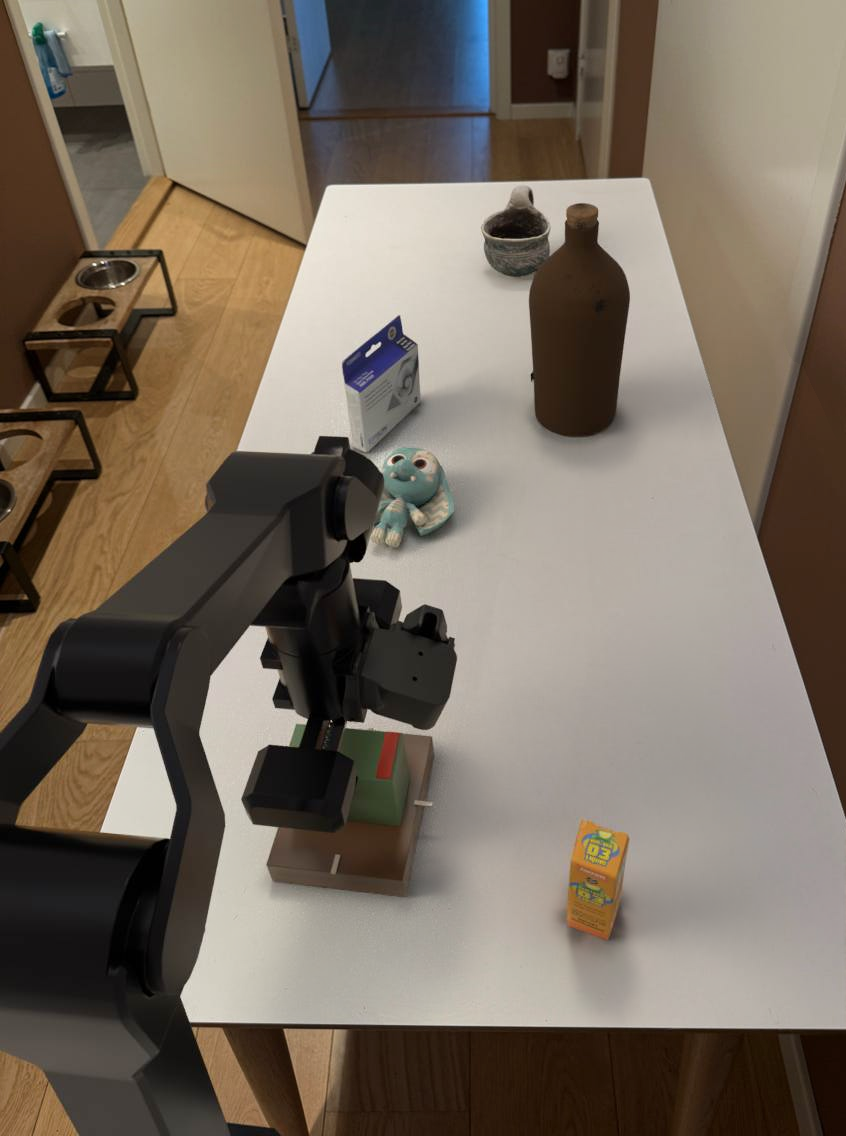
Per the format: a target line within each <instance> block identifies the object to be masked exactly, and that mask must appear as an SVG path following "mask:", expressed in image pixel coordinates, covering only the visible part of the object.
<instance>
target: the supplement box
mask: <svg viewBox="0 0 846 1136" xmlns="http://www.w3.org/2000/svg"><path fill="white" fill-rule="evenodd" d="M575 837H576V838H575V842H574V845H573V849H572V854H571V858H570V862H569V863H570V864H569V876H568V891H567V905H566V925H567V926H568V927H570V928H573V929H576V930H579V931H581V932H583V933H587V934H589V935H592V936H595V937H598V938H601V939H602V940H606V941H609V938H610V936H611V934H612V930H613V927H614V924H615V921H616V918H617V915H618V911H619V908H620V905H621V900H622V893H623V884H624V876H625V870H626V862H627V855H628V849H629V844H630V836H629V834H628V833H626V832H623V831H616V830H615V831H614V830H612V829H610V828H609V829H608V828H606V827H603V826H600V825H598V824H595V823H594V822H593V821H590V820H588V819H584V818H582V819H580V822H579V827H578V830H577V834H576V836H575Z"/></svg>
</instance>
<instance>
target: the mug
mask: <svg viewBox="0 0 846 1136" xmlns="http://www.w3.org/2000/svg"><path fill="white" fill-rule="evenodd" d="M534 204H535V197H534V192H533V189H532V188H531V187H530V186H527V185H517V186H515V187H514V188H513V189H512V191H511V193H510V196H509V199H508V202H507V204H506V205H505V208H504V209H502V210H499V211H496V212H494V213H492V214H490V215H489V216H488V217H486V218H485V219H484V220H483V222H482V224H481V226H480V230H481V234H482V236H483V239H484V242H483V253H484V255H485V259H486V260H487V261H486V262H488V264H489V265H490V267H491V268H492V269H494V270H495V271H497V272H498V273H500V274H502V275H504V276H509V277H513V278H514V277H516V278H521V277H525V276H529V275H531V274H535V273H536V271H537V270H538V268H539V267H540V266H541V264H542V263H543V262H544V261H545V260H546V259H547V258H549V257H550V254H551V249H550V248H551V246H550V241H549V236H550V232H551V229H552V228H551V227H552V226H551V224H550V221H549V220H548V218H547V217H546V215H545V214H544V213H543V212H541V211H540V210H539V209H538V208H537V207H536V206H535V205H534Z"/></svg>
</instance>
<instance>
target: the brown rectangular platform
mask: <svg viewBox="0 0 846 1136" xmlns="http://www.w3.org/2000/svg"><path fill="white" fill-rule="evenodd" d="M367 730H373V731H374V727H368V729H367ZM403 737H404V744H405V750H406V756H407V763H408V769H409V776H410V781H409V786H408V791H407V795H406V800H405V805H404V810H403V815H402V820H401V825H400V826H396V825H386V824H376V823H366V822H356V821H346V825H345V826H344V827H343V828H341V829H340V830H338V831H337V832H336V833H326V832H316V831H307V830H298V829H289V828H280V827H277V830H276V833H275V836H274V839H273V842H272V846H271V849H270V851H269V855H268V858H267V861H266V868H267V870H268V873H269V876H270V879H271V881H272V882H275V883H276V882H277V883H284V884H285V883H286V884H292V885H293V884H294V885H301V886H309V887H310V886H311V887H318V888H327V889H334V890H335V889H336V890H343V891H352V892H360V893H369V894H377V895H385V896H394V897H403V898H406V897H407V893H408V888H409V885H410V884H409V883H410V878H411V873H412V868H413V862H414V858H415V854H416V849H417V843H418V837H419V833H420V828H421V824H422V823H421V822H422V818H423V814H424V813H423V812H424V808H433V806H434V802H433V801H426V797H427V793H428V788H429V783H430V778H431V772H432V767H433V763H434V756H435V750H434V742H433V740H434V739H433V736H431V735H423V734H410V733H403Z"/></svg>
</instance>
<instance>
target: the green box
mask: <svg viewBox="0 0 846 1136" xmlns="http://www.w3.org/2000/svg"><path fill="white" fill-rule="evenodd" d="M305 727H306V723H305V724H303V723H295V726H294V729H293V732H292V736H291V738H290V742H289V745H288V746H290V747H299V745H300V742H301V739H302V736H303V733H304V730H305ZM328 732H329V731H328ZM328 732H327V733H328ZM403 734H404V732H397V731H385V730H383V731H382V730H374V729H373V730H368V729H360V728H349V727H345V731H344V734H343V738H342V742H341V745H340V749H339V752H340V753H342V754H343V755H345V756H347V757H348V758H350V759H352V760H353V761H354V762H355V766H356V776H358V781H357V785H356V789H355V792H354V796H353V800H352V804H351V808H350V811H349V814H348V818H347V821H356V822H366V823H376V824H386V825H396V826H400V825H401V820H402V815H403V810H404V805H405V800H406V795H407V791H408V786H409V781H410V776H409V769H408V763H407V756H406V750H405V744H404V737H403ZM326 738H328V737H327V735H326ZM324 743H326V742H324ZM323 748H324V745H323ZM323 748H322V749H323Z"/></svg>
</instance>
